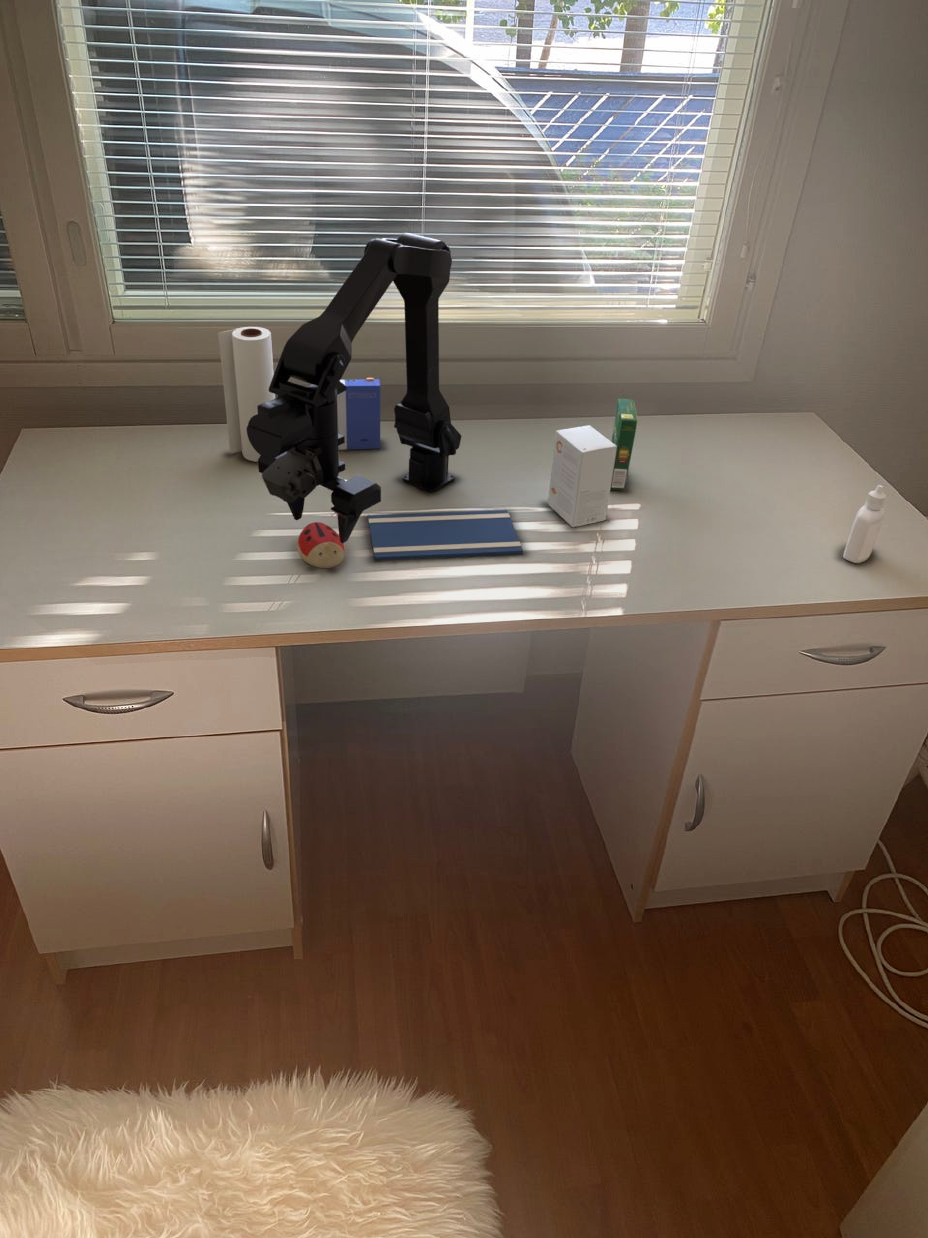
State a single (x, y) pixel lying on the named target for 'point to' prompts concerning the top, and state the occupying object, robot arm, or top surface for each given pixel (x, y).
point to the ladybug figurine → (320, 546)
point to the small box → (581, 475)
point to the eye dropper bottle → (866, 527)
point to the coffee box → (623, 441)
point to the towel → (443, 535)
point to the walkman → (359, 414)
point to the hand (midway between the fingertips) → (320, 530)
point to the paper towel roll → (245, 381)
